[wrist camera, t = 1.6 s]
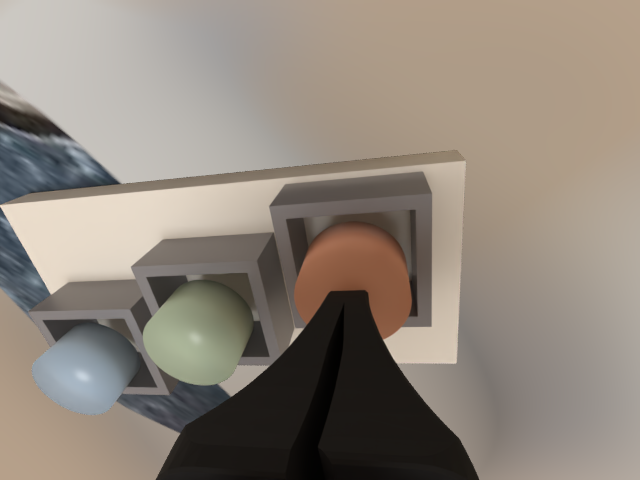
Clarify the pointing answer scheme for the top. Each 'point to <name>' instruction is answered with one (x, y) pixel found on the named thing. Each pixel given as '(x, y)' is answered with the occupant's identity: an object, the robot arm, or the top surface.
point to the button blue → (87, 368)
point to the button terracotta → (356, 273)
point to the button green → (199, 332)
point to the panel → (243, 249)
